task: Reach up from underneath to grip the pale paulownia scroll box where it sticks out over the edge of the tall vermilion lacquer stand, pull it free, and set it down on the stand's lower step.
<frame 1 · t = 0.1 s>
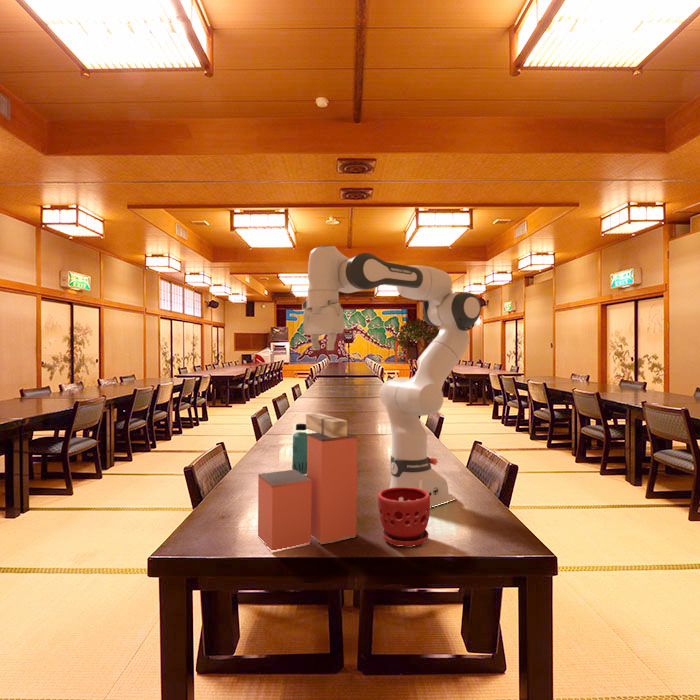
hand: (323, 350, 132), 48 cm above the table, tool pointing down, fingers open, 8 cm apart
plant pot: (403, 540, 116), on the table
scroll box: (325, 432, 122), point 26 cm above the table, touching lacquer stand
lacquer stand: (308, 538, 117), on the table
beverage bottle: (300, 477, 174), on the table
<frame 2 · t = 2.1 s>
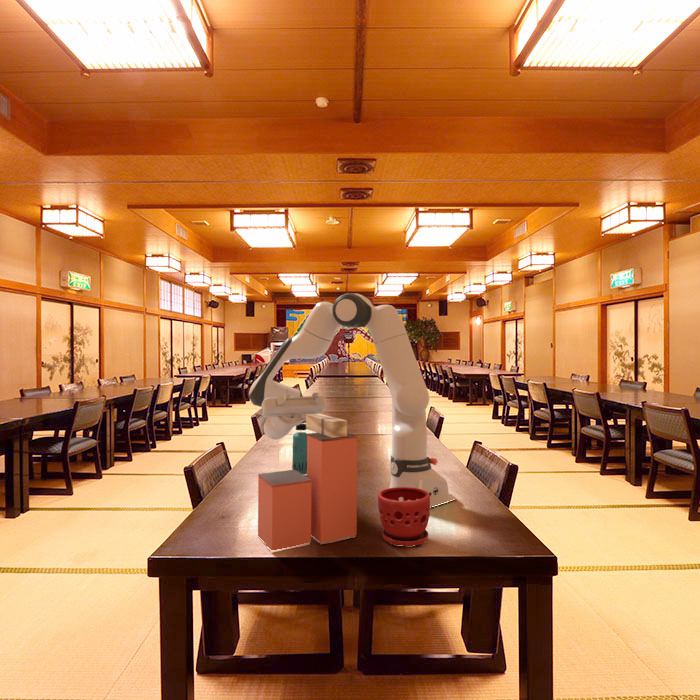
hand: (302, 395, 136), 34 cm above the table, tool pointing upward, fingers open, 8 cm apart
nothing on the table moved.
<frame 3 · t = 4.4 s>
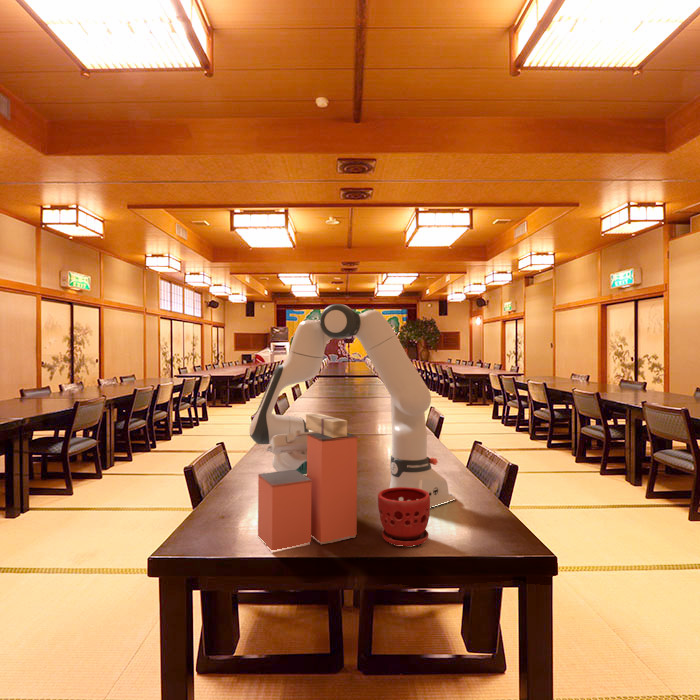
hand: (313, 431, 129), 25 cm above the table, tool pointing upward, fingers open, 8 cm apart
nothing on the table moved.
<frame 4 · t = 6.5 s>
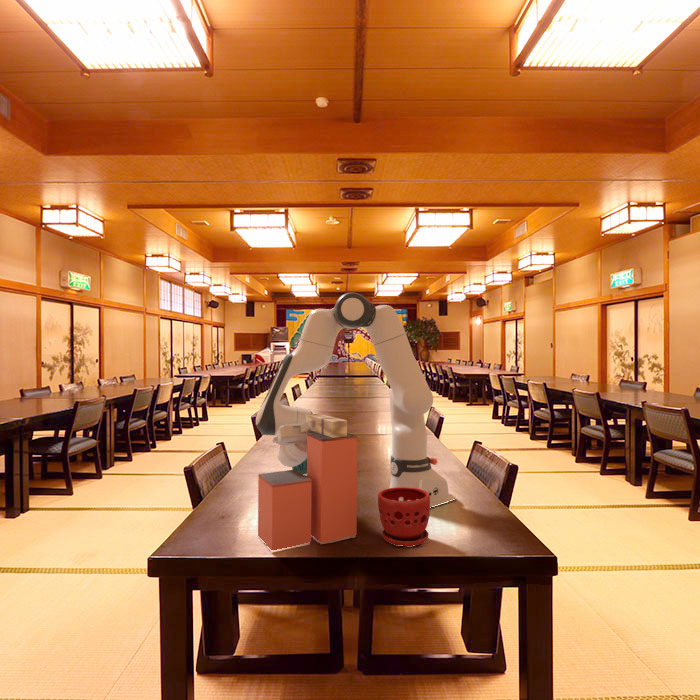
hand: (321, 422, 124), 28 cm above the table, tool pointing upward, fingers closed on scroll box, 4 cm apart
scroll box: (325, 432, 122), point 26 cm above the table, touching gripper, lacquer stand
everything else where it was.
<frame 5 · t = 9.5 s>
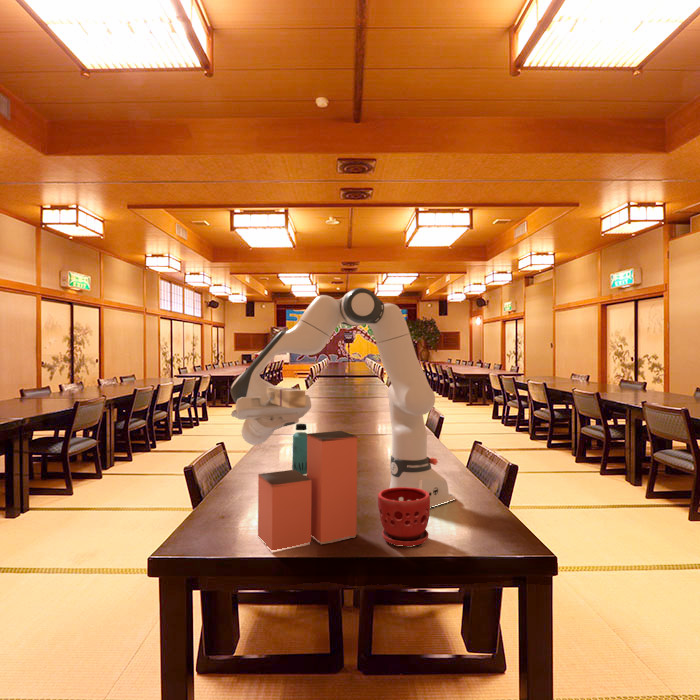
hand: (282, 394, 117), 37 cm above the table, tool pointing upward, fingers closed on scroll box, 4 cm apart
scroll box: (284, 404, 116), point 34 cm above the table, touching gripper
everything else where it was.
when the fingers open (20 cm above the table, at t = 13.0 s): scroll box drops 2 cm, resting on lacquer stand.
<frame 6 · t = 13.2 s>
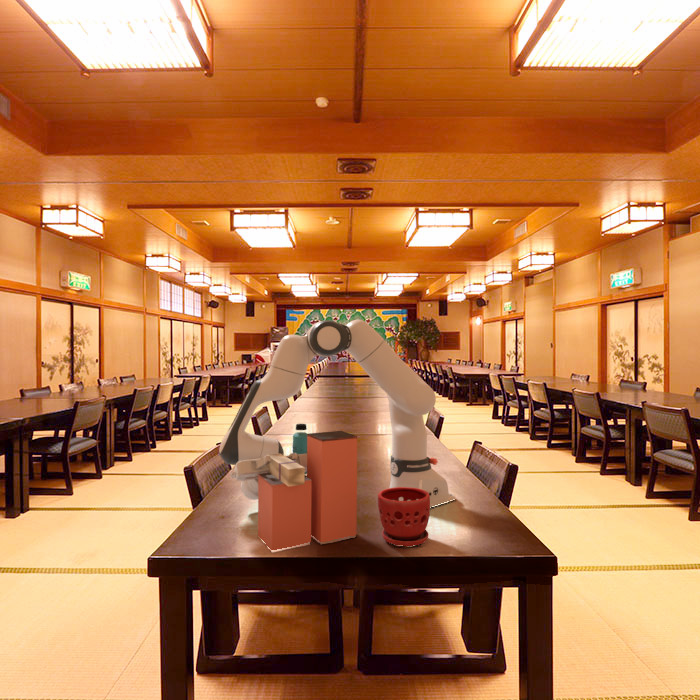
hand: (281, 457, 117), 20 cm above the table, tool pointing upward, fingers open, 6 cm apart
scroll box: (284, 476, 115), point 16 cm above the table, touching lacquer stand
everything else where it was.
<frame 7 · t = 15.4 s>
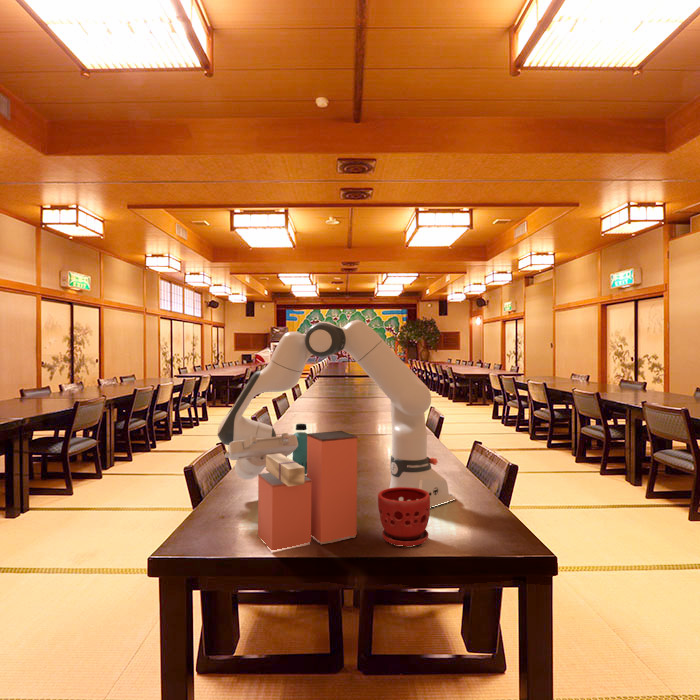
hand: (270, 437, 129), 23 cm above the table, tool pointing upward, fingers open, 8 cm apart
nothing on the table moved.
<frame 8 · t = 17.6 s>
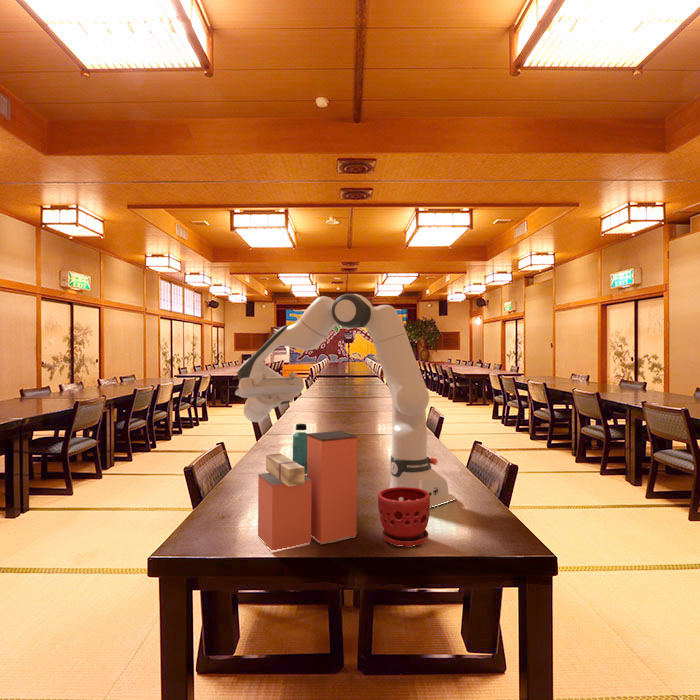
hand: (278, 374, 137), 40 cm above the table, tool pointing upward, fingers open, 8 cm apart
nothing on the table moved.
at the end: scroll box inside the target area (0.1 cm from its centre), point 16.0 cm above the table; the gripper is holding nothing; scroll box moved 15.8 cm from its start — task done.
